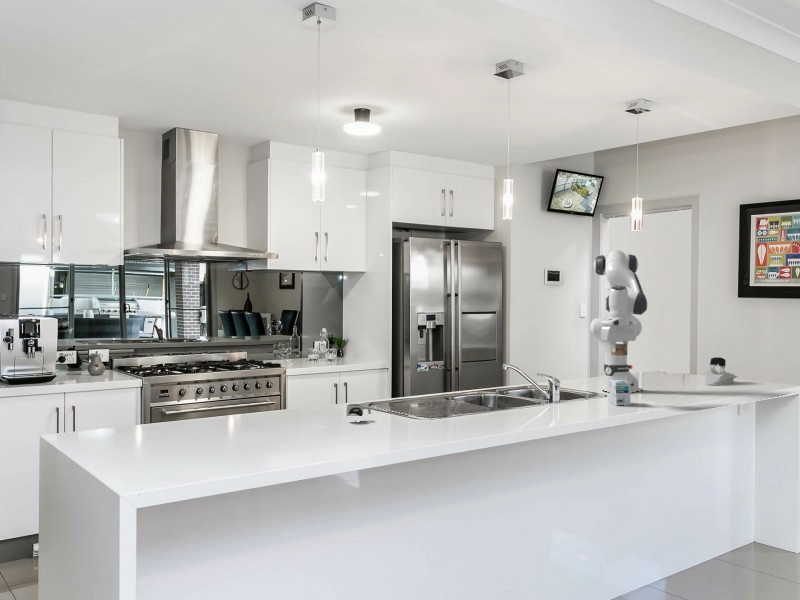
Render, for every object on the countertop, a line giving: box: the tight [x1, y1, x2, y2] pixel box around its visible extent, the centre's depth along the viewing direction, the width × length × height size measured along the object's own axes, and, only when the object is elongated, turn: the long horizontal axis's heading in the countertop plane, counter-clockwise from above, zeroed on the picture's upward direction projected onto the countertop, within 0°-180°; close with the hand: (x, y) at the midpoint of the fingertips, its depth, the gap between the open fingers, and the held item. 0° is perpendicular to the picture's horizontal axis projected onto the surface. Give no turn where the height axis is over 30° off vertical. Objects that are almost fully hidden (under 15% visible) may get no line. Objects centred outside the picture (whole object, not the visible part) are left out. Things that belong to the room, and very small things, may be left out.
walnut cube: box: [611, 343, 628, 356], centre depth 319 cm, size 5×5×5 cm
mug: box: [345, 403, 372, 417], centre depth 281 cm, size 10×7×7 cm, turn 105°
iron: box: [704, 356, 738, 386], centre depth 393 cm, size 11×24×15 cm, turn 135°
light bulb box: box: [609, 380, 631, 407], centre depth 319 cm, size 11×7×11 cm, turn 179°
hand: (619, 351), depth 319 cm, fingers closed on walnut cube, 5 cm apart
